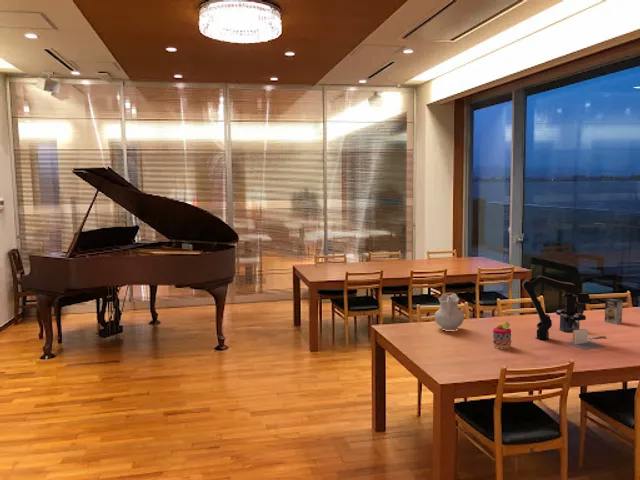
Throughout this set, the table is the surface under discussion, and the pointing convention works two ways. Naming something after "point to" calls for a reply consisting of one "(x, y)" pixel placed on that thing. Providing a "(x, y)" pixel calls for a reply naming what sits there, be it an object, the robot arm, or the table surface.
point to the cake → (502, 336)
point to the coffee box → (613, 311)
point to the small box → (565, 327)
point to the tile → (580, 336)
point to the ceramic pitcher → (449, 312)
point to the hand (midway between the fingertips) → (570, 328)
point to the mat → (586, 345)
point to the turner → (595, 338)
